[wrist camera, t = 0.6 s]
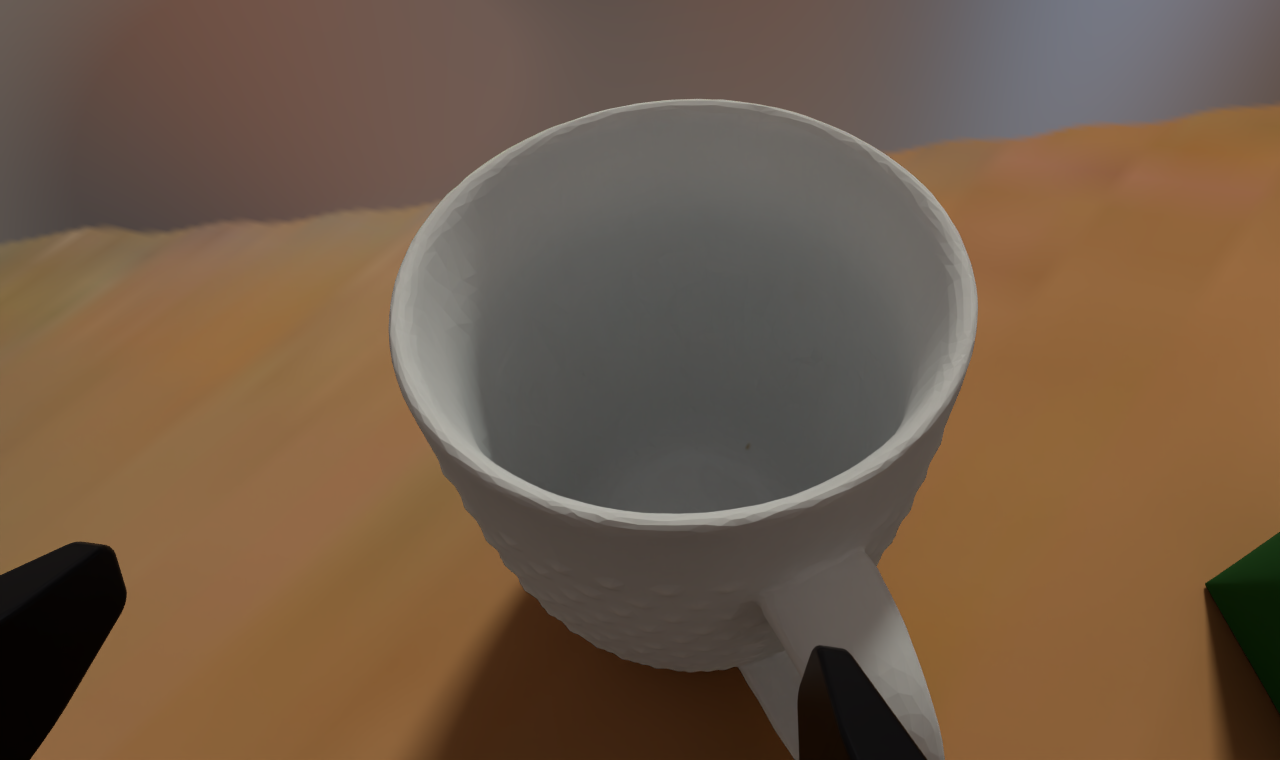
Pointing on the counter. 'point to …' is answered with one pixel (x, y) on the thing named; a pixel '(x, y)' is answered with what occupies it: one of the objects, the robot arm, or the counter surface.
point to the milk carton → (1254, 610)
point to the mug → (695, 384)
